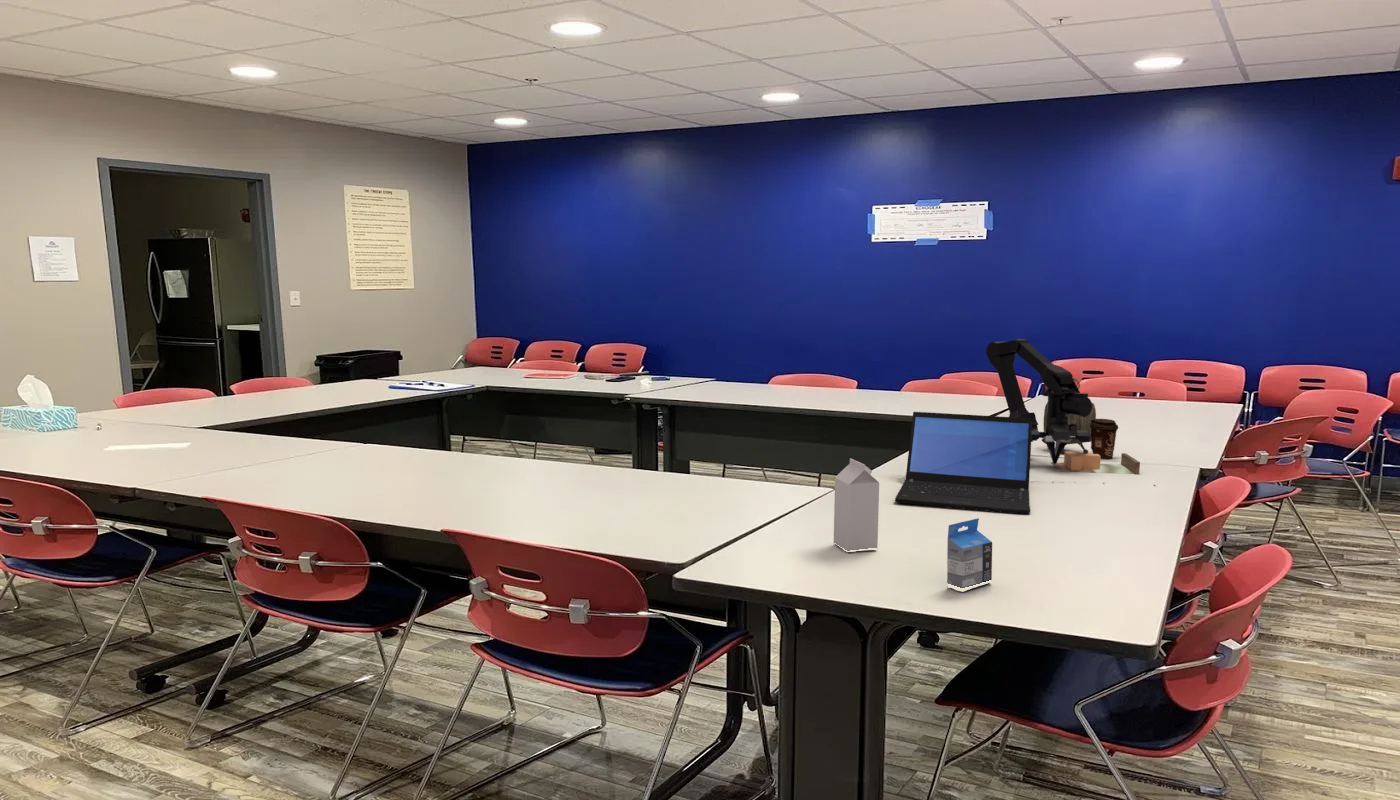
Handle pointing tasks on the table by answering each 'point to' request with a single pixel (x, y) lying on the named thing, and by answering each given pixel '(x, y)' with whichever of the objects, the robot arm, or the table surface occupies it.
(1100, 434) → the coffee cup
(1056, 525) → the table surface
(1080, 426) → the tabletop clock
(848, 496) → the milk carton
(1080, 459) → the tee block
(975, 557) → the label tape box
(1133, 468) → the board
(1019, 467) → the laptop
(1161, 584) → the table surface
